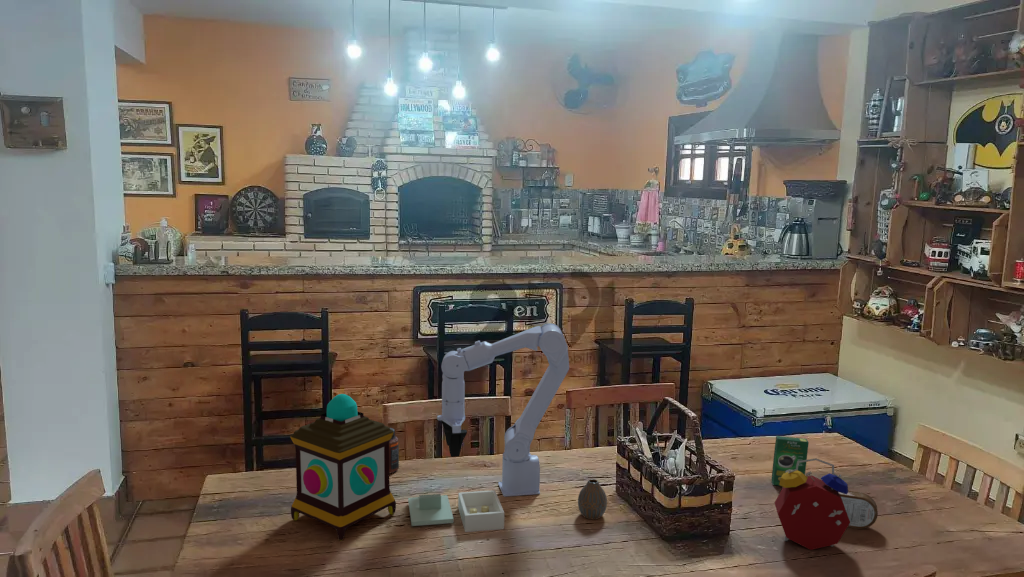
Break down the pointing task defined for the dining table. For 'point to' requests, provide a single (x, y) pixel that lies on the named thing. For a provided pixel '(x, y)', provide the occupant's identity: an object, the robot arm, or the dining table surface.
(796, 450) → the coffee box
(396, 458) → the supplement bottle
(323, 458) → the decorative lantern
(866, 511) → the tin
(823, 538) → the alarm clock
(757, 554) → the dining table surface
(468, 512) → the tub
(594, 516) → the vase
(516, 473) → the robot arm
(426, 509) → the lid
